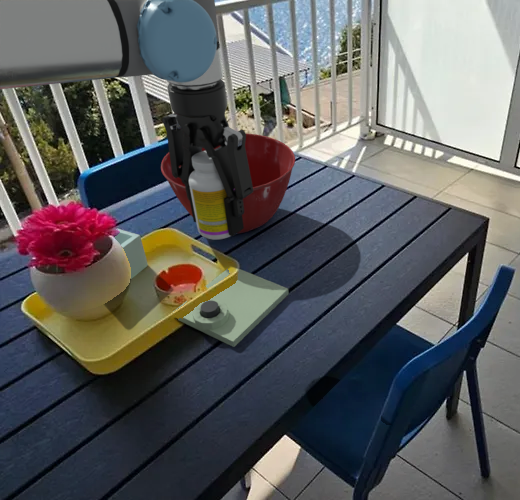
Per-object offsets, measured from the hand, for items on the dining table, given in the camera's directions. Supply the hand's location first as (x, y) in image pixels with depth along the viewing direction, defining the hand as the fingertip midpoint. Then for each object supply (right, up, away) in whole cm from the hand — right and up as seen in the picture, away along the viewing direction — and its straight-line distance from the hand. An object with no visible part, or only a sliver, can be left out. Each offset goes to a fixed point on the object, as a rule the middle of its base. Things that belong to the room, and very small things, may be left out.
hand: (218, 224), depth 80 cm
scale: (-1, -14, +13) cm, 19 cm away
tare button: (-3, -15, +7) cm, 17 cm away
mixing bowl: (-5, +3, +37) cm, 38 cm away
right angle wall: (-28, -9, +19) cm, 35 cm away
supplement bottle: (0, -1, +1) cm, 1 cm away
